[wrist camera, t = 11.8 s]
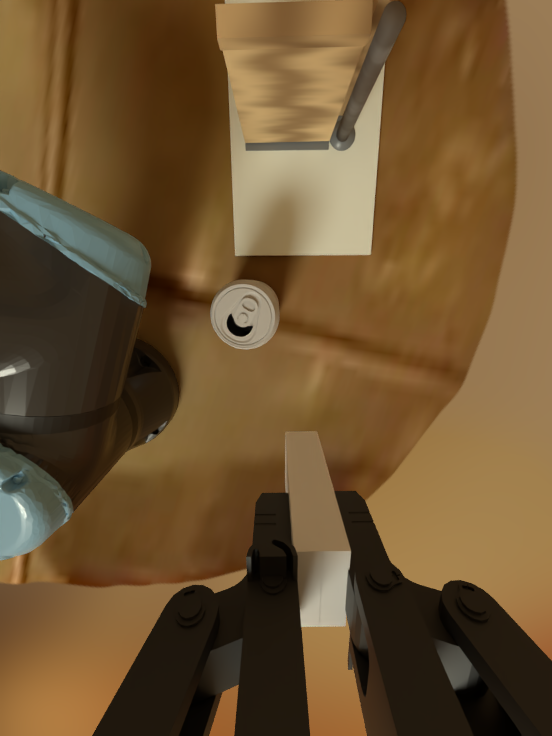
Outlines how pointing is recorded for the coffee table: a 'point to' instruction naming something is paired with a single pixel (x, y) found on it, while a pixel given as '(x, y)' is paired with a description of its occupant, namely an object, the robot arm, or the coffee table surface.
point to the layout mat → (306, 186)
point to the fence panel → (302, 64)
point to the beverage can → (245, 313)
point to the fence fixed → (378, 7)
